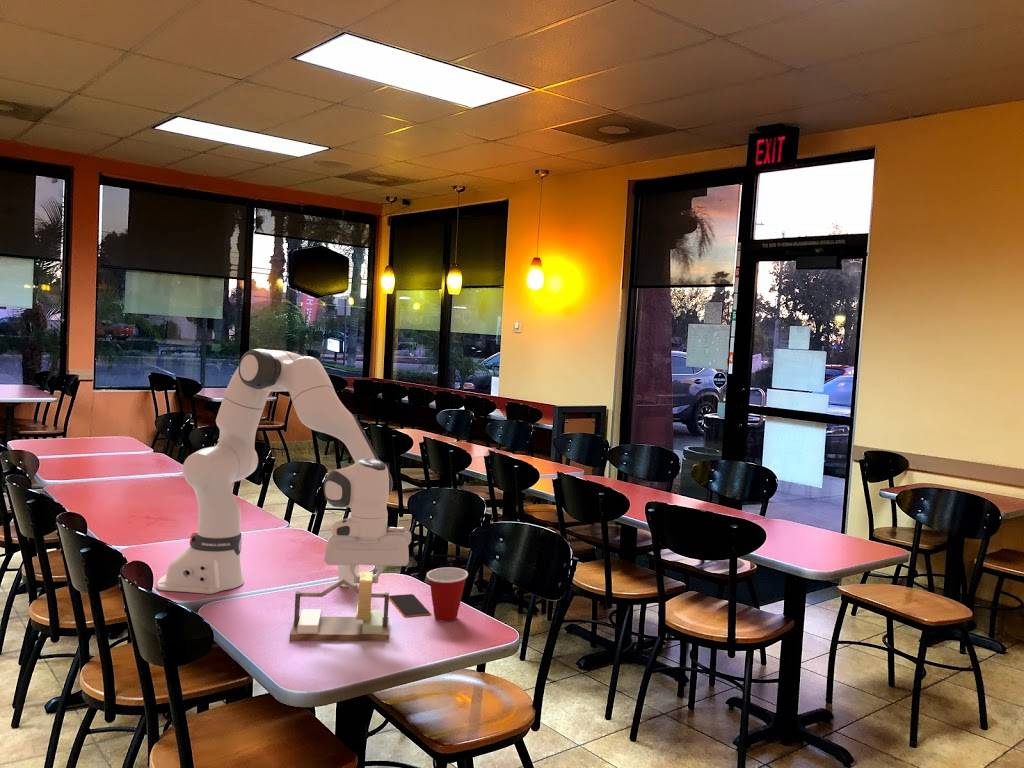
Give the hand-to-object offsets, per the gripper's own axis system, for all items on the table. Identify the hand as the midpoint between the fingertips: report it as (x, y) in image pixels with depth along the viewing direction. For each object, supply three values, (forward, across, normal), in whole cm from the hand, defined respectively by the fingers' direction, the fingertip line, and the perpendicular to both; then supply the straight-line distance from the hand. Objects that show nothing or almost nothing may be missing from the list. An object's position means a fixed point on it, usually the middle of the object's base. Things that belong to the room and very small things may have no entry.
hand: (365, 582), depth 198 cm
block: (+11, +13, 0) cm, 17 cm away
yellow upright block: (+8, 0, 0) cm, 8 cm away
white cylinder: (+12, +5, -36) cm, 39 cm away
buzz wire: (+12, +5, 0) cm, 13 cm away
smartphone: (+13, -12, -19) cm, 26 cm away
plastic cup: (+12, -21, -10) cm, 26 cm away
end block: (+11, -2, 0) cm, 11 cm away
